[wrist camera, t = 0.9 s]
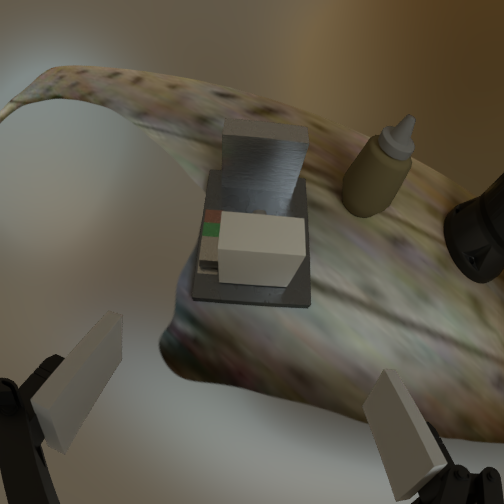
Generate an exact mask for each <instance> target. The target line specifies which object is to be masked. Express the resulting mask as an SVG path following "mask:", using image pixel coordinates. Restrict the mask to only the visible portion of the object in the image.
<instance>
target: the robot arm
mask: <svg viewBox="0 0 504 504" xmlns="http://www.w3.org/2000/svg"><path fill="white" fill-rule="evenodd" d="M444 234H445V240H446V243H447V247H448V249H449V252H450V254H451V256H452V258H453V260H454V261H455V263H456V265H457V266H458V267H459V269H460V270H461V271H462V272H463V273H464V274H465V275H466V276H467V277H468V278H470V279H471V280H473V281H475V282H477V283H487V282H489V281H491V280H493V279H494V278H496V277H497V276H498V275H499V274H500V273H501V272H502V270H503V269H504V173H503V174H502V175H501V176H500V177H499V178H498V179H497V180H496V181H495V182H494V183H493V184H492V185H491V186H490V187H489V188H488V189H487V190H486V191H485V192H484V193H483V194H482V195H481V196H479V197H477V198H474V199H472V200H469V201H466V202H464V203H461V204H459V205H457V206H456V207H455V208H454V209H452V210H451V211H450V212H449V213H448V215H447V216H446V219H445V223H444ZM122 322H123V315H121V314H117V313H114V312H111V311H108V312H107V313H106V314H105V315H104V316H103V317H102V318H101V320H100V321H98V323H97V324H96V325H95V326H94V327H93V328H92V329H91V330H90V331H89V332H88V333H87V335H86V336H85V337H84V338H83V339H82V340H81V341H80V342H79V343H78V345H77V346H76V347H75V348H74V349H73V350H72V351H71V352H70V354H69V355H68V356H67V357H66V358H63V357H61V356H59V355H57V354H55V355H53V356H51V357H48V358H46V359H45V360H44V361H43V363H42V364H40V366H39V368H37V369H36V370H35V371H34V373H33V374H31V375H30V376H29V378H28V379H27V380H26V381H25V382H24V383H23V384H22V385H21V386H20V388H19V389H18V386H17V385H16V384H15V383H14V381H12V380H10V379H8V378H0V470H1V474H2V479H3V483H4V488H5V492H6V496H7V500H8V504H60V502H59V500H58V497H57V494H56V491H55V489H54V486H53V483H52V480H51V477H50V474H49V471H48V467H47V464H46V461H45V457H44V454H43V450H42V447H41V443H42V442H43V440H44V438H45V440H46V442H47V444H48V446H49V447H51V448H53V449H55V450H57V451H59V452H60V453H63V454H65V453H66V452H67V450H68V448H69V446H70V445H71V443H72V441H73V439H74V438H75V436H76V434H77V432H78V431H79V429H80V427H81V426H82V423H83V422H84V420H85V419H86V417H87V415H88V414H89V412H90V410H91V409H92V407H93V405H94V403H95V402H96V400H97V399H98V397H99V395H100V394H101V392H102V391H103V389H104V387H105V386H106V384H107V382H108V381H109V379H110V378H111V376H112V375H113V373H114V371H115V370H116V368H117V367H118V365H119V363H120V362H121V360H122ZM362 407H363V410H364V412H365V415H366V418H367V420H368V423H369V426H370V428H371V431H372V434H373V436H374V439H375V442H376V445H377V448H378V450H379V453H380V456H381V459H382V462H383V464H384V467H385V470H386V473H387V476H388V479H389V482H390V485H391V488H392V491H393V494H394V497H395V500H396V502H397V501H401V500H407V499H410V498H411V497H412V496H413V495H415V494H416V493H417V492H418V494H419V496H420V497H418V498H417V499H416V500H415V501H414V502H412V503H411V504H504V500H503V491H502V484H501V477H500V474H499V473H498V471H497V470H496V469H495V468H492V467H486V468H484V469H483V470H482V471H481V473H480V474H473V473H470V472H469V471H468V470H467V468H465V467H464V466H462V465H455V464H454V462H453V460H452V459H451V457H450V455H449V453H448V451H447V449H446V447H445V445H444V444H443V443H442V440H441V438H439V434H438V433H437V431H436V429H435V428H434V427H433V426H432V425H431V424H430V423H429V422H425V420H424V418H423V416H422V415H421V413H420V411H419V409H418V407H417V406H416V404H415V402H414V400H413V399H412V397H411V395H410V393H409V392H408V390H407V388H406V387H405V385H404V383H403V381H402V380H401V378H400V376H399V375H398V373H397V371H396V370H392V369H384V370H383V372H382V373H381V375H380V377H379V379H378V381H377V382H376V384H375V386H374V387H373V389H372V391H371V393H370V394H369V396H368V398H367V399H366V401H365V402H364V404H363V406H362Z"/></svg>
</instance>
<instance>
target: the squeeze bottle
mask: <svg viewBox="0 0 504 504" xmlns="http://www.w3.org/2000/svg"><path fill="white" fill-rule="evenodd" d="M415 121H416V119H415V118H414V117H413V116H412V115H410V114H408V115H407V116H406V117H405V118H404V119H403V120H402V121H401V122H400V123H399V124H398V125H397V126H396V127H392V126H387V127H385V128H383V130H382V132H381V134H380V135H375V136H373V137H371V138H370V139H369V140H368V142H367V143H366V145H365V146H364V148H363V149H362V150H361V152H360V153H359V155H358V156H357V158H356V159H355V160H354V162H353V163H352V165H351V166H350V168H349V169H348V170H347V172H346V174H345V176H344V178H343V187H342V201H343V203H344V205H345V207H346V208H347V209H348V211H349V212H350V213H352V214H354V215H355V216H357V217H362V218H367V217H371V216H373V215H375V214H377V213H380V212H382V211H384V210H385V209H386V208H387V207H389V206H390V204H391V202H392V201H393V199H394V197H395V195H396V194H397V192H398V190H399V188H400V187H401V185H402V183H403V181H404V179H405V178H406V176H407V174H408V172H409V170H410V169H411V165H412V160H411V157H410V156H411V154H412V153H413V151H414V148H415V146H414V142H413V141H412V139H411V134H412V131H413V128H414V125H415Z"/></svg>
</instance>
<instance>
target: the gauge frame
mask: <svg viewBox="0 0 504 504" xmlns="http://www.w3.org/2000/svg"><path fill="white" fill-rule="evenodd" d="M308 146H309V137H308V129H307V127H302V126H295V125H288V124H280V123H272V122H262V121H252V120H241V119H227V118H225V123H224V128H223V134H222V171H221V170H210V174H209V180H208V186H207V192H206V198H205V205H204V211H203V217H202V224H201V231H200V238H199V245H198V253H197V260H196V268H195V276H194V284H193V293H192V298H193V301H203V302H215V303H227V304H240V305H255V306H271V307H290V308H308V307H309V306H311V287H310V254H309V232H308V213H307V197H306V182H305V179H304V178H298V176H299V173H300V170H301V167H302V164H303V161H304V158H305V155H306V152H307V149H308ZM259 209H260V210H264V211H266V213H267V215H274V216H285V217H295V218H304V223H305V247H306V256H305V258H304V260H303V261H302V263H301V265H300V266H299V268H298V270H297V271H296V273H295V275H294V276H293V278H292V280H291V281H290V283H289V284H288V286H287V287H278V286H263V285H248V284H235V283H222V282H219V269H218V268H212V267H200V266H199V260H208V261H218V242H219V232H220V223H221V215H222V211H227V212H239V213H251V214H253V211H255V210H259Z"/></svg>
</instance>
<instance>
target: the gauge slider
mask: <svg viewBox="0 0 504 504" xmlns="http://www.w3.org/2000/svg"><path fill="white" fill-rule="evenodd" d="M305 256H306V247H305V223H304V218H295V217H285V216H274V215H267V213H266V211H264V210H260V209H259V210H255V211H253V214H251V213H239V212H227V211H222V215H221V223H220V232H219V242H218V261H208V260H199V266H200V267H212V268H218V269H219V282H222V283H235V284H248V285H263V286H278V287H287V286H288V284H289V283H290V281H291V280H292V278H293V276H294V275H295V273H296V271H297V270H298V268H299V266H300V265H301V263H302V261H303V260H304V258H305Z"/></svg>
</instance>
